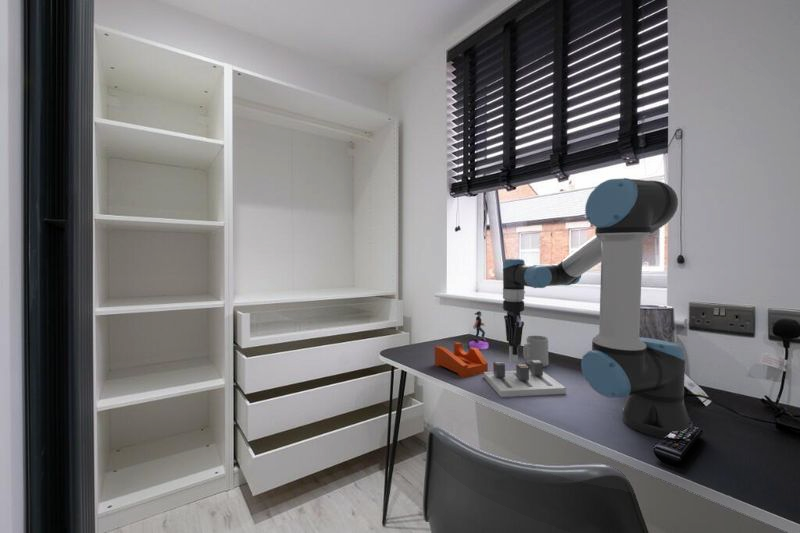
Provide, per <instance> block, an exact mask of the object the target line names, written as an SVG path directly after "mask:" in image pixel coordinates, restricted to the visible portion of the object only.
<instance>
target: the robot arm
mask: <svg viewBox="0 0 800 533" xmlns="http://www.w3.org/2000/svg"><path fill="white" fill-rule="evenodd" d="M584 206H585V208H584V212H585V217H586V219H587V220H588V222H589V223H590V225H591V226H594V227H595V230H594V231H595V232H594V236H593V237H591V238H589V240H587V241H586V242H585V243H584V244H582V245H581V246H580V247H578V248H577V249H576V250H575V251H573V252H571V253H570V254H569V255H567V256H566V258H564V259H562V260H561V261H560V262H558V263H554V264H526V263H525V259H523V258H505V259H504V260H503V267H502V299H503V300H502V309H503V311H505V312H506V315H504V316H503V319H504V322H505V323H504V325H505V335H506V336H505V337H506V342H507V343H508V344H509V345H508V346H509V348H508V357H509V358H508V362H509V363H511V364H515V363H516V364H519V357H518V356H519V355H518V354H519V348H518V347H520V346H522V340H523V339H522V338H523V329H524V325H525V322H524V321H522V320H521V319H522V317H521V313H522V312H524V310H525V301H524V299H525V294H526V291H525V287H529V288H533V289H544V288H547V287H555V286H571V285H575V284H577V283H578V282H580V280H581V278H582V275H583V274H585V273H586V272H588V271H590V270H591V269H592V268H594V267H596V266H597V265H599V264H600V290H599V292H600V294H599V322H598V323H599V326H598V329H599V331H598V334H597V335H594V337H592V339H591V342H592V343H591V344H592V345H591V350H588V351H587V352H586V353H585V354H583V356H582V358H581V361H580V362H581V364H580V365H581V366H580V367H581V371H582V374H583V376H584V379H585V381H586V382H587V383H588V385H589V386H590V388H592V389H593V390H594V391H595V392H596V393H597V394H598V395H601V396H603V397H604V398H605V397H606V398H609V399H611V398H626V397H627V398H626V400H625V404H624V406H623V408H622V409H621V418H622V421H623V423H625V425H627V426H628V427H630V428H631V429H632V430H633V429H634V430H635V431H638V432H640V433H643V434H644V435H648V436H651V437H655V438H659V439H664V438H663V437H665V436H666V435H668V434H669V433H670V432H672V431H678V430H685V429H687V428H689V427H692V426H693V423H692V421H691V418H690V415H689V413H688V409H687V407H686V404H685V365H686V364H685V363H686V359H685V358H686V357H685V349H684V347H683V346H681V345H679V344H677V343H674V342H671V341H665V340H661V339H656V338H650V337H649V338H648V337H641V336H640V333H641V332H640V329H641V328H640V327H641V326H640V324H641V303H642V302H641V301H642V300H641V299H642V275H643V274H642V271H643V251H644V250H643V248H644V246H643V244H644V240H645V239H646V238H648V237H650V236H651V235H652V234H653V233H655V232H656V231H657V232H658V230H659V229H661V228H662V227H664V226H665V225H666V224H667V223H669V221H671V219H672V218H673V217H674V216H675V214H676V212H677V209H678V206H679V199H678V195H677V193H676V191H675V189H673V187H671V186H670V185H669V184H667V183H666V182H662V181H660V180H646V179H636V178H635V179H634V178H627V177H623V178H610V179H607V180H604V181H602V182H600V183H599V184H598V185H596V186H595V188H594V189H593V190H592V191H591V192H590V194H588V196H587V199H586V202H585V205H584Z"/></svg>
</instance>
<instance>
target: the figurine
mask: <svg viewBox="0 0 800 533" xmlns="http://www.w3.org/2000/svg"><path fill="white" fill-rule="evenodd" d="M474 315H475V316H476V317H475V323H474V325H473V326H472V327H473V330H475V329H476V334H475V336H474V339H473V340H472V341H469V348H472V347H474V348H477V349H479V350H487V349H488V348H489V342H487V340H486V339H485V335H486V332H485V330H484V329H483V328H482V327H484V326H485V322H482V318H481V317H482V312H481V310H479V311H478V310H477V312H475V313H474ZM480 332H481V337H480V340H478V337H479V335H480Z"/></svg>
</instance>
